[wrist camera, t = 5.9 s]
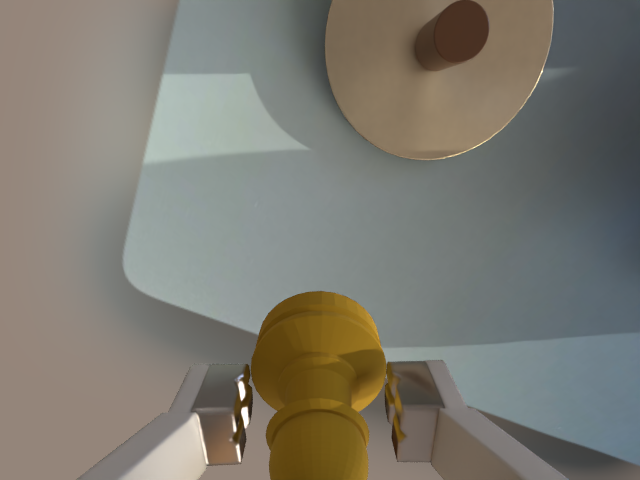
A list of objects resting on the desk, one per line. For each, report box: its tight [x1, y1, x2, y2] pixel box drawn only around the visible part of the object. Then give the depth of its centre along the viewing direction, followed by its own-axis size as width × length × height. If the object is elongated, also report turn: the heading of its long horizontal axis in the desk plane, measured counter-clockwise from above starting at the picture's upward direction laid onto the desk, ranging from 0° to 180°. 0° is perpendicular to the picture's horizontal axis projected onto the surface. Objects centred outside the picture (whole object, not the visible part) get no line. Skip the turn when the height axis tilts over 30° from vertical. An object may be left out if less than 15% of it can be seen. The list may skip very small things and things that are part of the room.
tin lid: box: [325, 0, 554, 160], centre depth 18 cm, size 13×13×5 cm
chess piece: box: [251, 291, 386, 480], centre depth 9 cm, size 4×4×5 cm
